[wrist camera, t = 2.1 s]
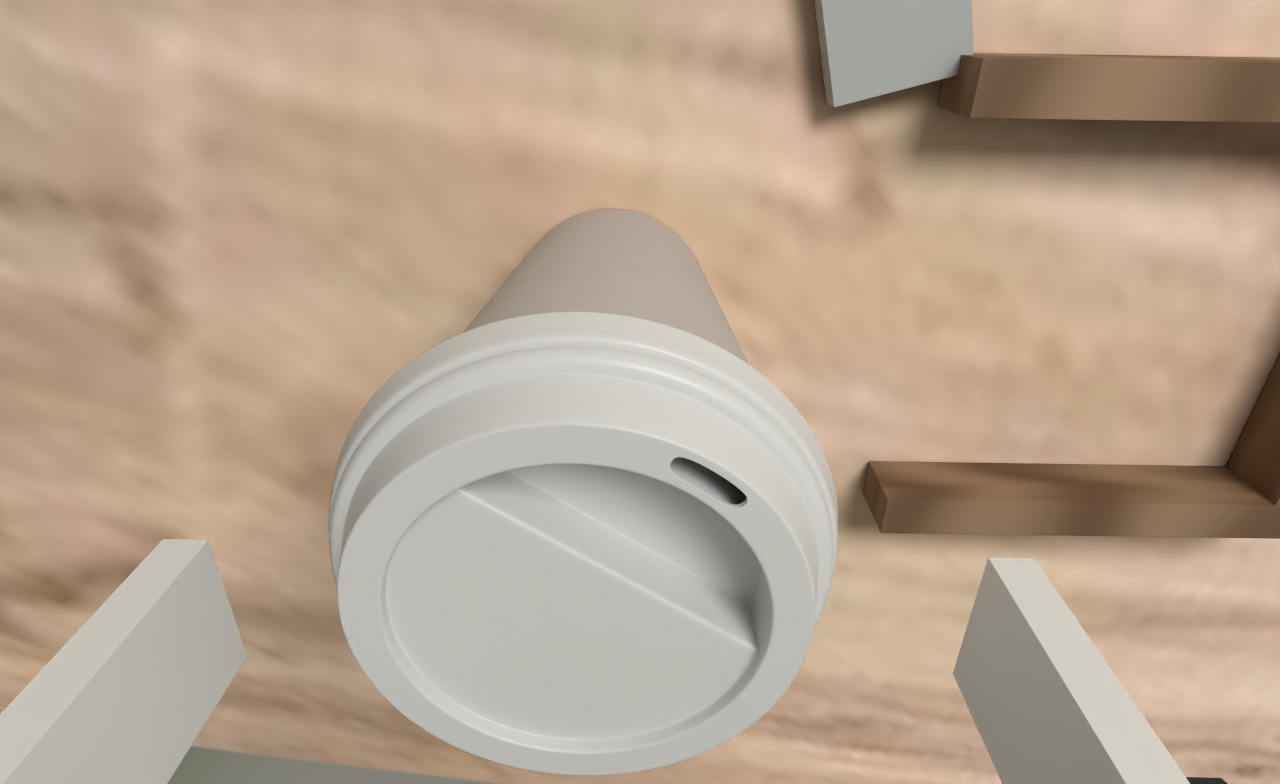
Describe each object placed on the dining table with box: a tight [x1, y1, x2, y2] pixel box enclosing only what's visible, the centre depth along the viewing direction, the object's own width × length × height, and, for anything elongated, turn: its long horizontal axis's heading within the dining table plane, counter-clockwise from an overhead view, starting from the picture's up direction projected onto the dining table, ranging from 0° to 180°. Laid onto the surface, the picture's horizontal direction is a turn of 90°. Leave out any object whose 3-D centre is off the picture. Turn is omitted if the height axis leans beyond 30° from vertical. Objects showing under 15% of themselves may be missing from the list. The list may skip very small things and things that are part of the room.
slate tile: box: [814, 0, 973, 107], centre depth 21 cm, size 4×4×1 cm
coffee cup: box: [329, 209, 838, 776], centre depth 19 cm, size 10×10×15 cm
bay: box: [863, 53, 1280, 538], centre depth 24 cm, size 16×16×2 cm
